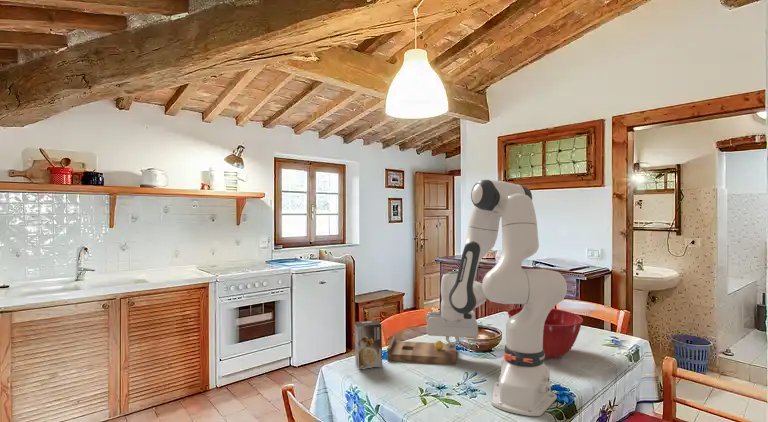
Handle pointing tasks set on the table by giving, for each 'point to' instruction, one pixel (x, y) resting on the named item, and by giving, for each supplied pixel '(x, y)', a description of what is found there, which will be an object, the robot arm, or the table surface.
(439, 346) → the ball
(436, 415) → the table surface
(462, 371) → the table surface
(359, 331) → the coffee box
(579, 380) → the table surface
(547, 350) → the mixing bowl
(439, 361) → the tray
